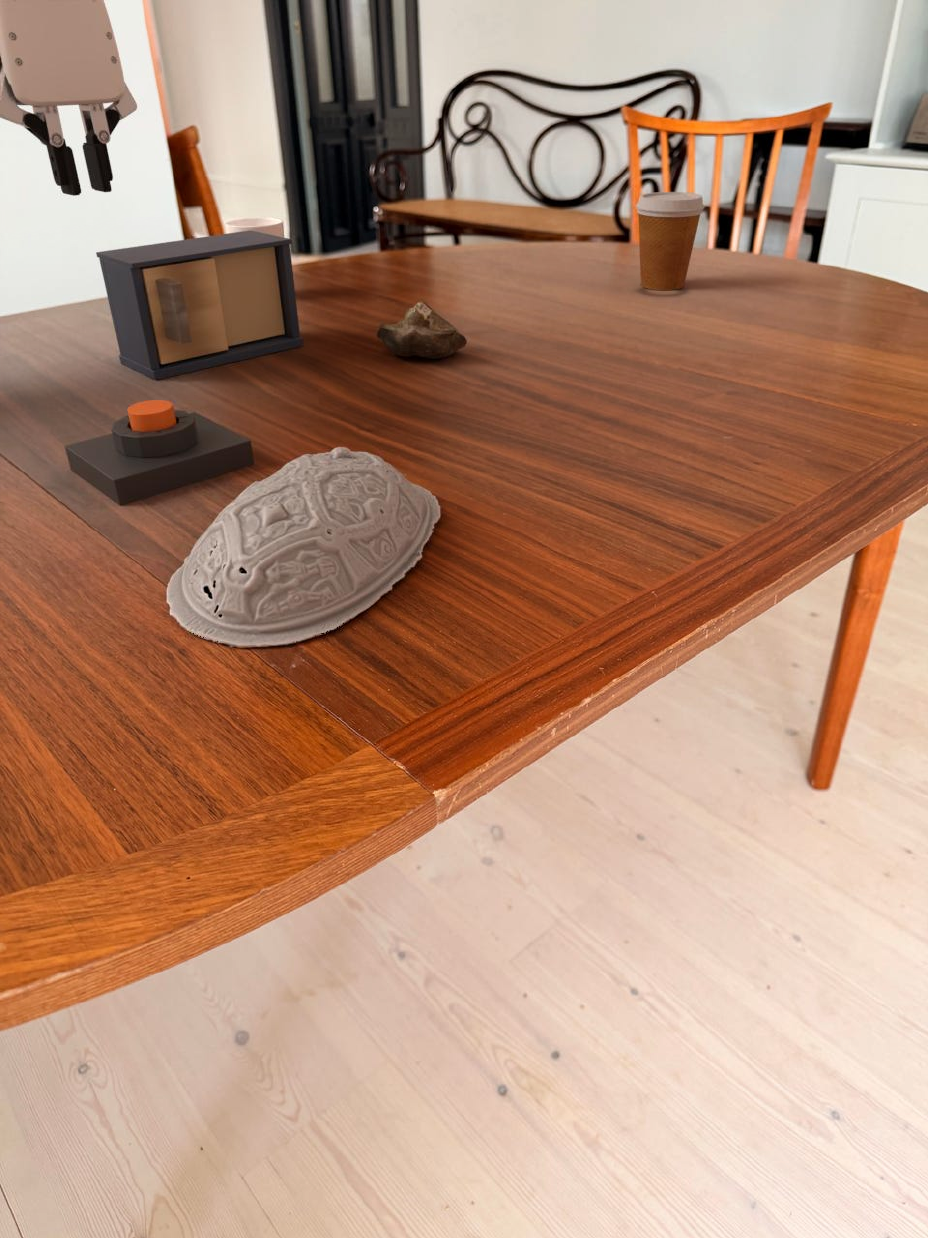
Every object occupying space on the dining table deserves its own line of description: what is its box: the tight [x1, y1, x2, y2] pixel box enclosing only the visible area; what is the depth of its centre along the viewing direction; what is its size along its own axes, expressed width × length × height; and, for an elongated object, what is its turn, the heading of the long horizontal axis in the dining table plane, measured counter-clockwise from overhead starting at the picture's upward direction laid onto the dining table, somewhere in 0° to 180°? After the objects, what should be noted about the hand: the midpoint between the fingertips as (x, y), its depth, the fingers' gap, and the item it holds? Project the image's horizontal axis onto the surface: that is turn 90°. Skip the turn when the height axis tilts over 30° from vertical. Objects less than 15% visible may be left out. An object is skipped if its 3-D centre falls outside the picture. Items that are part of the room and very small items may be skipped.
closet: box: [95, 230, 304, 381], centre depth 103 cm, size 19×9×12 cm, turn 132°
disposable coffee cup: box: [635, 191, 706, 291], centre depth 129 cm, size 10×10×12 cm
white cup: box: [225, 217, 285, 238], centre depth 128 cm, size 8×8×10 cm
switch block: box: [64, 409, 255, 507], centre depth 76 cm, size 12×10×4 cm
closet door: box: [140, 257, 228, 364], centre depth 97 cm, size 8×4×10 cm, turn 132°
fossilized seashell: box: [376, 300, 468, 360], centre depth 103 cm, size 8×7×10 cm
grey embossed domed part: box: [166, 446, 442, 649], centre depth 62 cm, size 16×25×7 cm, turn 159°
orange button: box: [127, 399, 177, 432], centre depth 74 cm, size 4×4×2 cm
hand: (86, 190), depth 85 cm, fingers closed
